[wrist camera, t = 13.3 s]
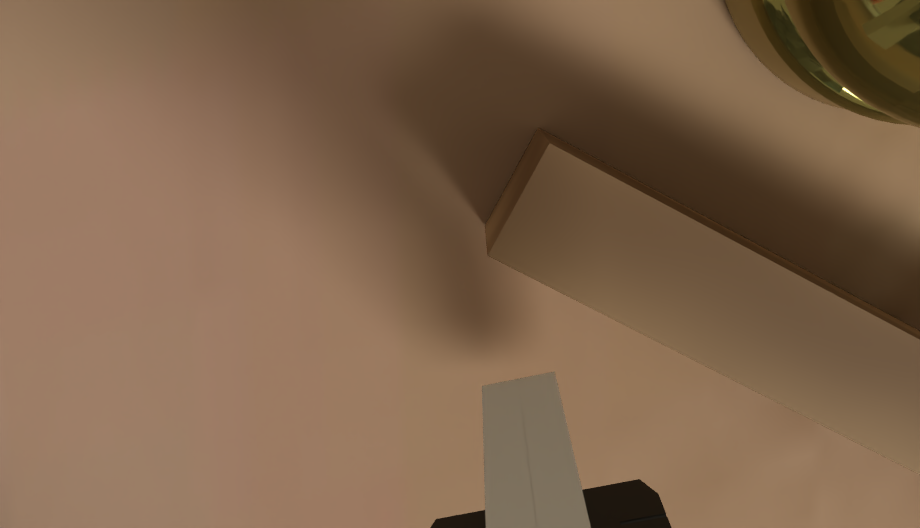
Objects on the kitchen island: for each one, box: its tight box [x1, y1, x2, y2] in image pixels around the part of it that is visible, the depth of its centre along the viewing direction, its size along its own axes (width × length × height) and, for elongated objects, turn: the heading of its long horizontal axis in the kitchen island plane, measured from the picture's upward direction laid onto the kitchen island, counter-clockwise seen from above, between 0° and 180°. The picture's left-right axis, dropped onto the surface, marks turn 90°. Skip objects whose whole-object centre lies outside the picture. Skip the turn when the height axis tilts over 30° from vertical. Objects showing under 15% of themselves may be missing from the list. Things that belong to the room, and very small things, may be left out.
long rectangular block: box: [485, 128, 920, 475], centre depth 18 cm, size 2×14×2 cm, turn 62°
